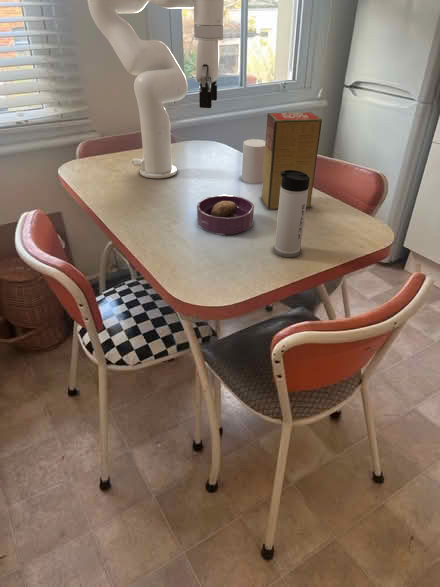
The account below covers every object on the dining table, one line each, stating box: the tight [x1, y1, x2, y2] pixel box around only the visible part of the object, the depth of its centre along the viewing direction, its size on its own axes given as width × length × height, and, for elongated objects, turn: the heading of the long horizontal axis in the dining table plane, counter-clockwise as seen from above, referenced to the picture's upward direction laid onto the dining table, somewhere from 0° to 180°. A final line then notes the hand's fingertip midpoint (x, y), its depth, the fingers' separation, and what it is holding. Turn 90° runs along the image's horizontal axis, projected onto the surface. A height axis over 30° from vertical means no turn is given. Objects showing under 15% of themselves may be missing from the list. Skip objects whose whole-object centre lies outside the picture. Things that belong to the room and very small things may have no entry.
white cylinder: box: [241, 138, 266, 184], centre depth 146 cm, size 8×8×12 cm
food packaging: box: [260, 111, 323, 210], centre depth 126 cm, size 13×9×25 cm
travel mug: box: [273, 170, 310, 258], centre depth 103 cm, size 6×7×20 cm
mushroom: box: [211, 201, 237, 218], centre depth 119 cm, size 8×8×6 cm
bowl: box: [196, 194, 255, 235], centre depth 120 cm, size 15×15×5 cm
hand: (208, 103), depth 123 cm, fingers open, 9 cm apart
